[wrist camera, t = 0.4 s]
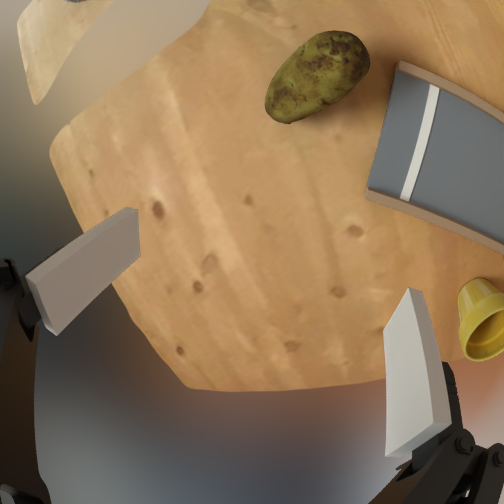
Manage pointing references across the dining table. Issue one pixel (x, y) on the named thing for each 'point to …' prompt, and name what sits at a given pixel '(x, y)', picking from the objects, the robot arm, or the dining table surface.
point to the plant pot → (481, 320)
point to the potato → (316, 76)
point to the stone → (74, 0)
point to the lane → (441, 157)
